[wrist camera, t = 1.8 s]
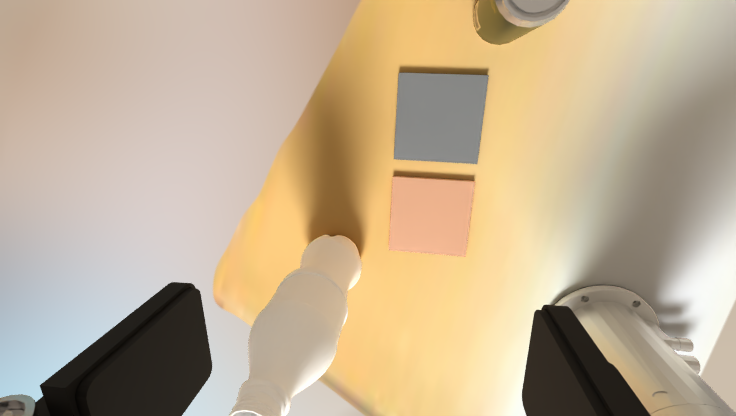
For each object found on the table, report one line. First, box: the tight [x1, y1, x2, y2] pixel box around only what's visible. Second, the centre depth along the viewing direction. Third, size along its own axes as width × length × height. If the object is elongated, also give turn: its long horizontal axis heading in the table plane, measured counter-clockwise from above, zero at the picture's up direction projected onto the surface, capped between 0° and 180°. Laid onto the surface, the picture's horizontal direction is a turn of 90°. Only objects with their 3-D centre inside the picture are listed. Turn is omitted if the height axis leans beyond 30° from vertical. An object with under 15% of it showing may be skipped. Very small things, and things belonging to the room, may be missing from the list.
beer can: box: [473, 0, 569, 45], centre depth 30 cm, size 5×5×12 cm
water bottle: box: [229, 235, 362, 416], centre depth 34 cm, size 7×7×25 cm
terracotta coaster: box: [389, 176, 475, 257], centre depth 42 cm, size 9×9×1 cm
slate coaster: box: [394, 73, 489, 164], centre depth 39 cm, size 9×9×1 cm
